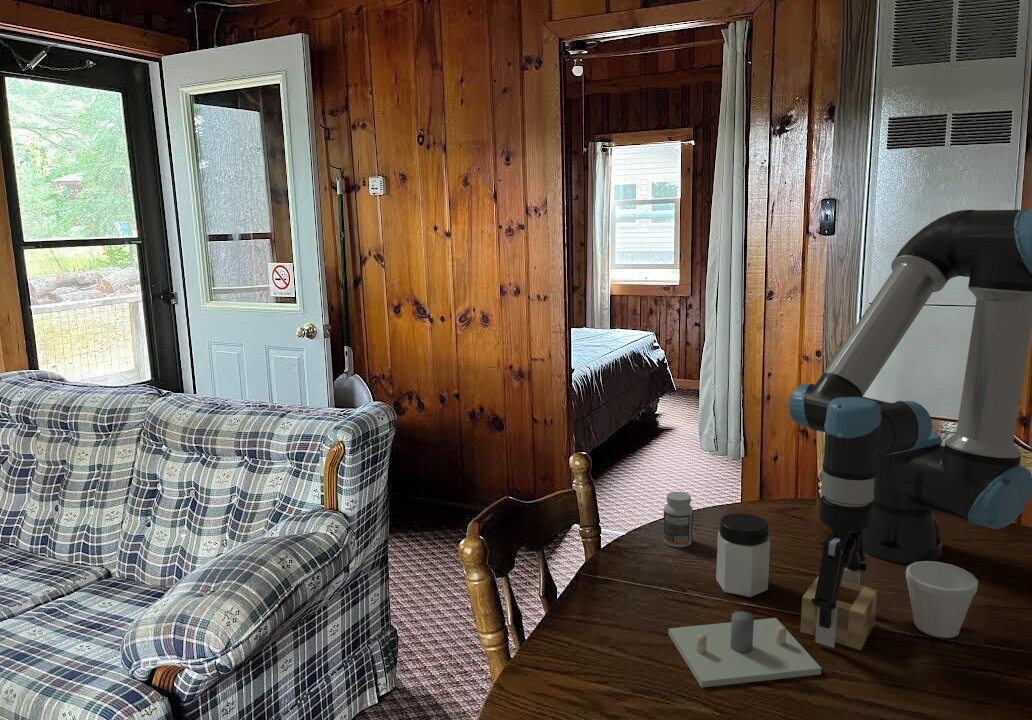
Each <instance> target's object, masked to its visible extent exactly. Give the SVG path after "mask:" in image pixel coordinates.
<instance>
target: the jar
mask: <svg viewBox="0 0 1032 720" xmlns="http://www.w3.org/2000/svg"><path fill="white" fill-rule="evenodd" d="M769 530H770V529H769V522H768V521H767V520H766V519H764V518H763V517H760V516H758V515H754V514H751V513H740V512H739V513H736V512H735V513H729V514H726V515H723V516H722V517H721V518H720V521H719V531H718V532H717V544H716V545H717V549H716V571H715V572H716V573H715V575H716V576H715V577H716V578H715V579H716V582H717V583H718V584H719V586H720V587H721V589H722V590H723V592H724V593H728V594H732V595H738V596H743V597H748V598H752V597H754V596H757V595H759V594H761V593H763V592H765V591H768V589H769V575H770V574H769V571H770V555H771V554H770V553H771V552H770V551H771V550H770V549H771V540H770V539H769V533H770V531H769Z"/></svg>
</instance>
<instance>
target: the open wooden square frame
mask: <svg viewBox="0 0 1032 720" xmlns="http://www.w3.org/2000/svg"><path fill="white" fill-rule="evenodd" d="M818 577H819V575H818V576H817V577H816V578H815V580H814V581H813V582H812V584H811V585H810V586H809V587H808V589H807V590H806V592H805V593H804V594H803V595H802V597H801V612H800V614H801V615H800V629H799V630H800V633H802V634H806V635H810V636H813V637H815V636H816V622H817V606H814V604H813V603H812V598H813V599H814V598H815V593H816V588H817V582H818ZM877 600H878V589H875V588H872V587H868V586H864V585H861V584H860V585H857V584H853V583H849V582H845V581H841V585H840V589H839V593H838V598H837V602H836V606H838V610H837V624H836V637H835V644H839V645H842V646H845V647H849V648H852V649H855V650H859V651H861V650H862V649H863V647H864V645H865V643H866V641H867V639H868V637H869V635H870V634H871V632H872V630H873V628H874V627H875V625H876V624H875V623H876V616H877V615H876V612H877Z"/></svg>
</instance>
